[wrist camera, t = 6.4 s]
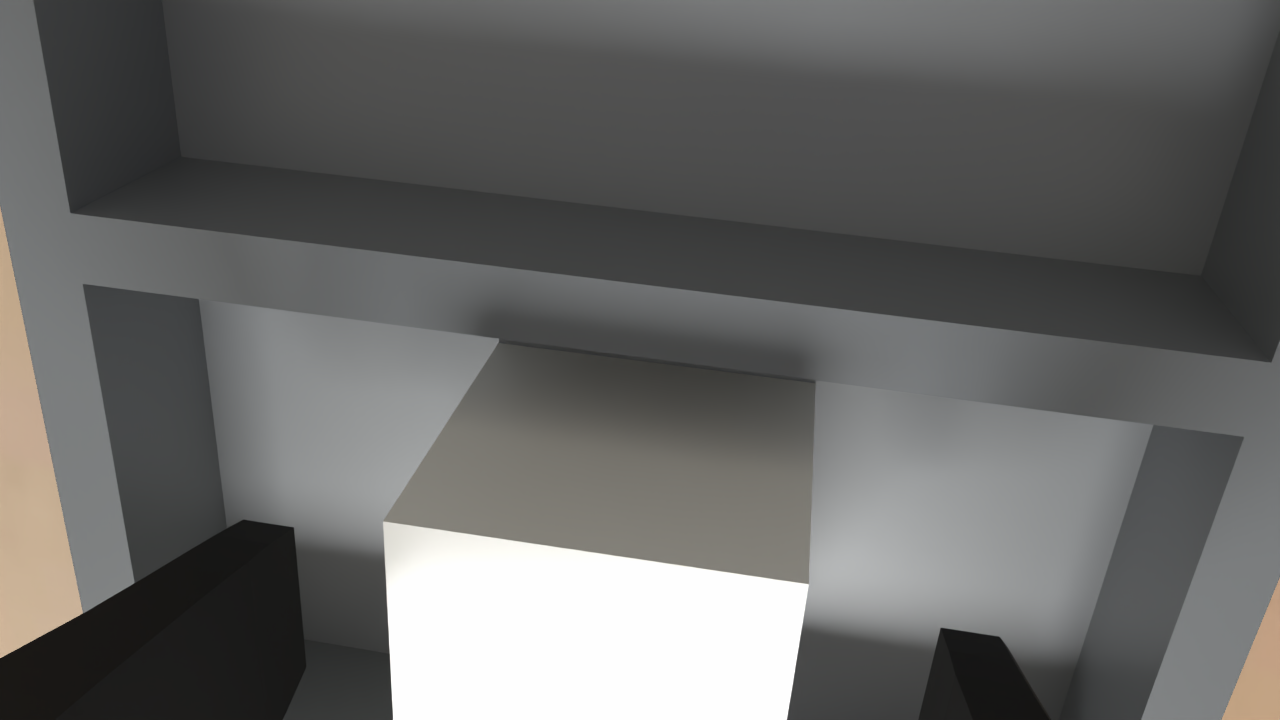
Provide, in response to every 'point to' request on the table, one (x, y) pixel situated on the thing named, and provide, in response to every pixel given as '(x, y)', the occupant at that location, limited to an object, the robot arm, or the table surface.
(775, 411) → the white block
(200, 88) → the divided tray
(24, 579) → the table surface
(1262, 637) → the table surface
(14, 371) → the table surface
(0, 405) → the table surface
